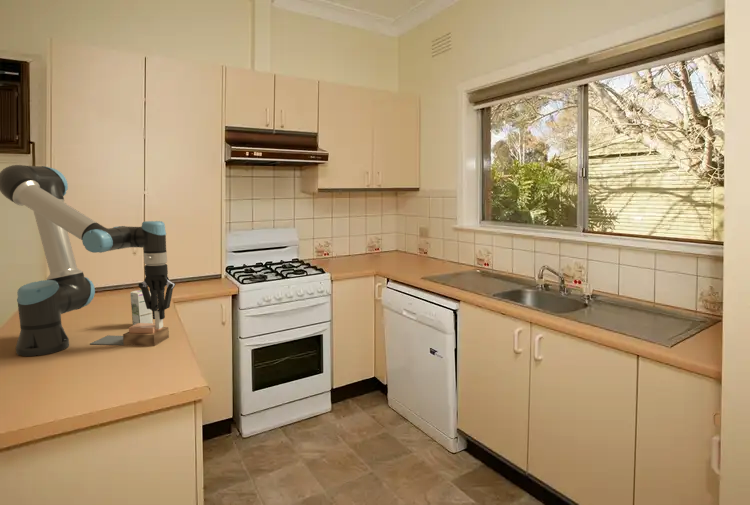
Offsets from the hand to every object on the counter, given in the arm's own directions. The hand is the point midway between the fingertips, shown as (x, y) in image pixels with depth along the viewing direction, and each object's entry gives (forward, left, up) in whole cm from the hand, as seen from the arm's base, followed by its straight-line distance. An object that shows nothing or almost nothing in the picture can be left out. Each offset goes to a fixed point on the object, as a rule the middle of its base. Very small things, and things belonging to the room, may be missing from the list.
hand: (159, 327), depth 171 cm
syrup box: (-26, +8, -5) cm, 28 cm away
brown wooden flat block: (-4, -3, -5) cm, 7 cm away
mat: (-15, -9, -5) cm, 18 cm away
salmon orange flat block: (-4, -3, -1) cm, 5 cm away
